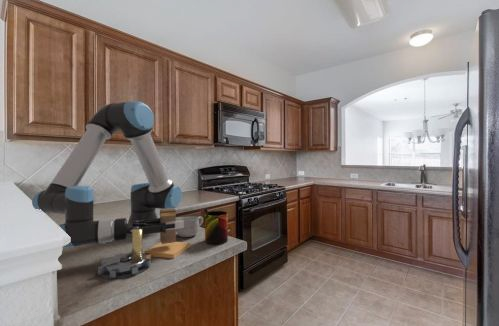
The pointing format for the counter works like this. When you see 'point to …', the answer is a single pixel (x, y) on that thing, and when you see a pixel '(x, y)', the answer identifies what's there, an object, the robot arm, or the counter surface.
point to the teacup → (190, 226)
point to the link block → (165, 216)
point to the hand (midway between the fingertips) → (182, 222)
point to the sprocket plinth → (124, 274)
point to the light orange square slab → (168, 249)
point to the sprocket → (127, 259)
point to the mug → (216, 227)
